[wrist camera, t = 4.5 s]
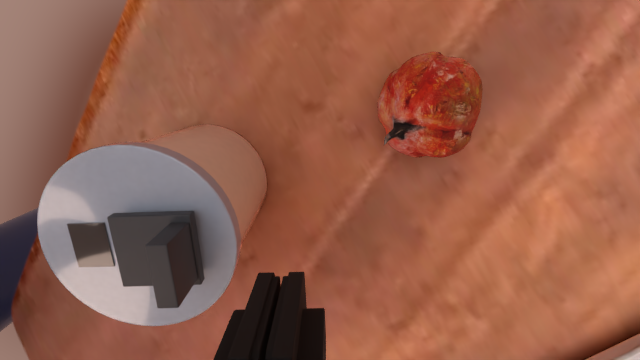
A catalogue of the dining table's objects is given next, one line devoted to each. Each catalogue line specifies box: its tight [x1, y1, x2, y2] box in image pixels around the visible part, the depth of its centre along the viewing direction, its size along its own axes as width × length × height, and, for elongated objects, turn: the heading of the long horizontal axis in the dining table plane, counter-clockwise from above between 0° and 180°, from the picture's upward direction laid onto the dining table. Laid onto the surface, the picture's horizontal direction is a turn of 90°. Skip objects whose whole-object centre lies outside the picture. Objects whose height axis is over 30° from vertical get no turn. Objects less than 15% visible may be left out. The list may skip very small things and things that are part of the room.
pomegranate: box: [377, 52, 482, 157], centre depth 24 cm, size 7×7×10 cm
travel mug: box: [37, 124, 267, 326], centre depth 24 cm, size 11×11×12 cm
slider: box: [107, 211, 205, 308], centre depth 16 cm, size 4×4×3 cm
